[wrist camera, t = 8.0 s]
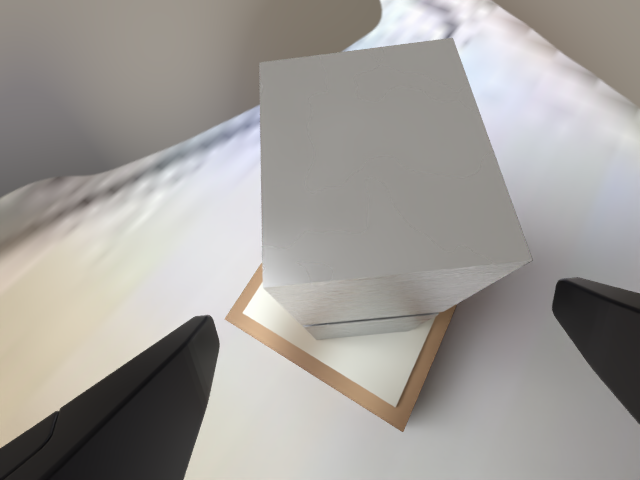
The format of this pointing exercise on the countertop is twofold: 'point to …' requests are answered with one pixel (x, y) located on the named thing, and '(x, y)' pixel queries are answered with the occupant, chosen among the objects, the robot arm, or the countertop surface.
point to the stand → (348, 353)
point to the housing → (379, 190)
